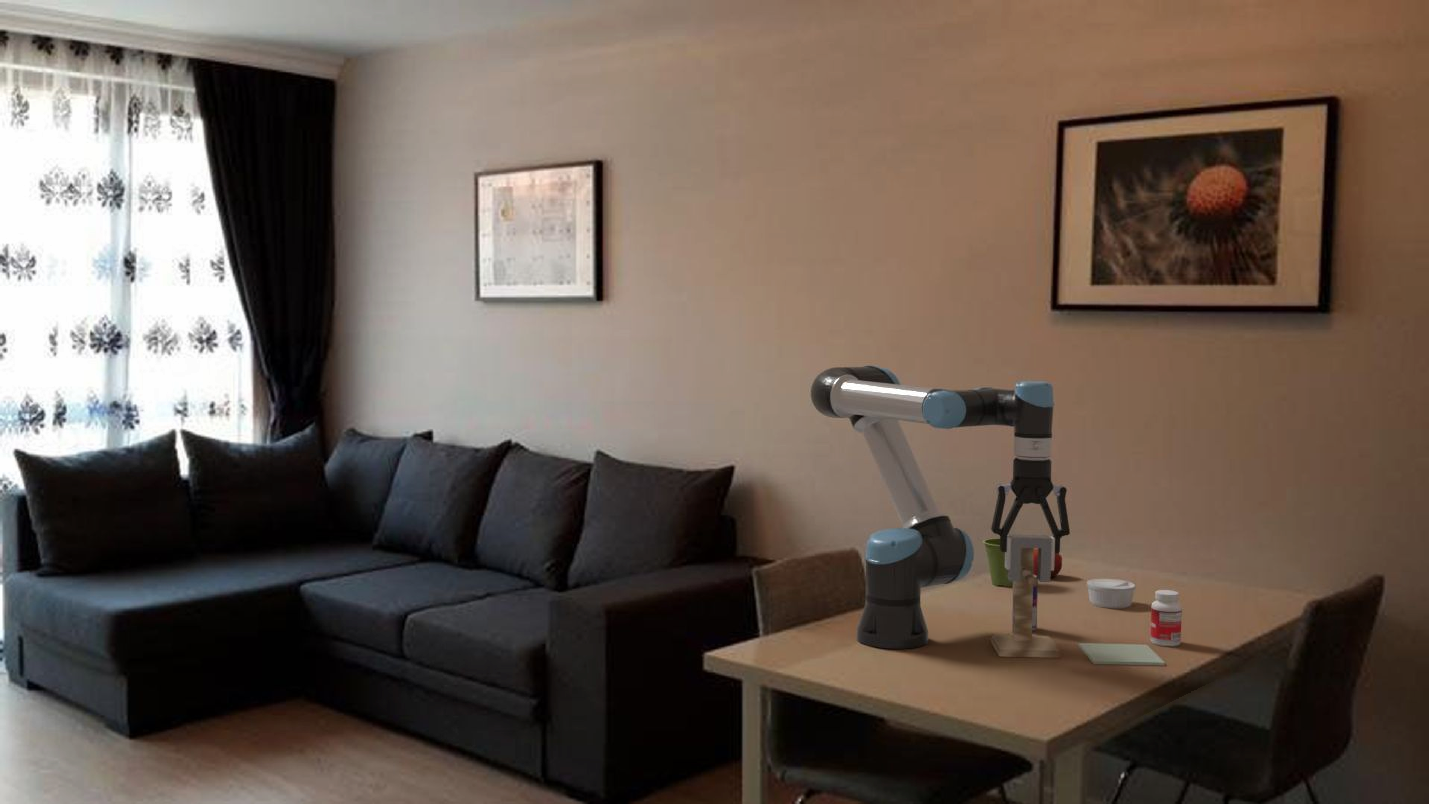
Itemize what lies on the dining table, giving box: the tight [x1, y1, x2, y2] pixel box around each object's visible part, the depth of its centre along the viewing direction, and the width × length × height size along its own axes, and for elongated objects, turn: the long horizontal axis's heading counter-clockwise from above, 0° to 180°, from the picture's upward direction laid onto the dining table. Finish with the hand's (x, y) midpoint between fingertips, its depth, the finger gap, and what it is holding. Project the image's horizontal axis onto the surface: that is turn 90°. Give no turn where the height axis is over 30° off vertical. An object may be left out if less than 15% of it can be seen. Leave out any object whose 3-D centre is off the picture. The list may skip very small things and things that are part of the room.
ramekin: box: [1086, 578, 1136, 609], centre depth 308 cm, size 11×11×5 cm
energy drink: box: [1011, 574, 1039, 632], centre depth 283 cm, size 5×5×12 cm
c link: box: [1008, 533, 1052, 583], centre depth 260 cm, size 8×4×9 cm, turn 86°
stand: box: [990, 548, 1060, 659], centre depth 264 cm, size 12×15×22 cm
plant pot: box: [982, 537, 1013, 587], centre depth 331 cm, size 12×12×11 cm
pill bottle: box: [1150, 589, 1183, 648], centre depth 271 cm, size 6×6×11 cm
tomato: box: [1033, 548, 1063, 578], centre depth 341 cm, size 9×9×8 cm
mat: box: [1078, 642, 1166, 666], centre depth 262 cm, size 14×14×1 cm
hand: (1029, 568), depth 260 cm, fingers closed on c link, 8 cm apart
